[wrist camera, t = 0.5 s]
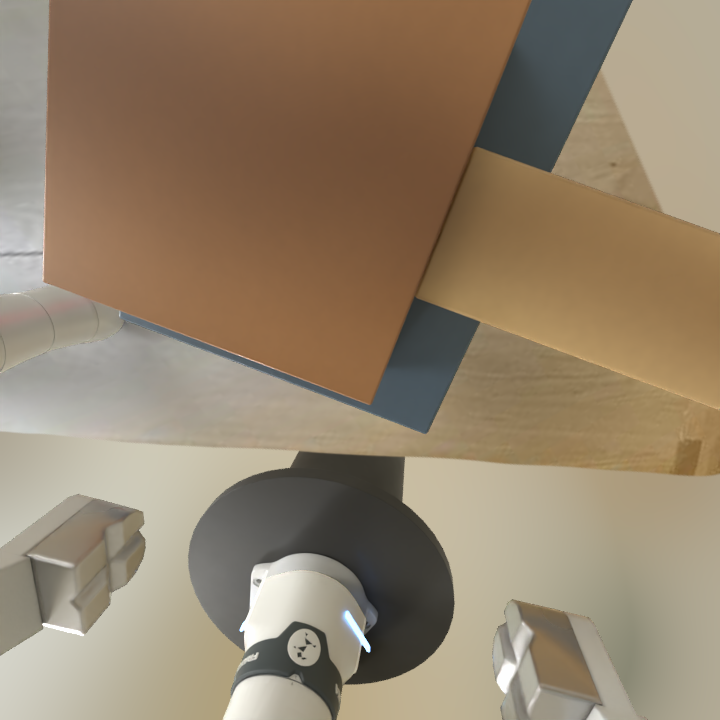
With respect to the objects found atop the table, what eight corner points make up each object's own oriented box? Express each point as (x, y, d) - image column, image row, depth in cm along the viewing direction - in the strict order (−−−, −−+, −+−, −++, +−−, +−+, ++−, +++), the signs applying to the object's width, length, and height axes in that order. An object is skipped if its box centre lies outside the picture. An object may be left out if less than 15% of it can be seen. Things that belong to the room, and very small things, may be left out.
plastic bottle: (127, 272, 39) (-140, 310, 20) (141, 335, 41) (-88, 421, 22) (73, 273, 40) (-231, 310, 21) (90, 334, 42) (-172, 417, 23)
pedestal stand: (420, 295, 35) (426, 435, 11) (321, 259, 36) (117, 318, 11) (469, 173, 32) (643, -22, 7) (358, 133, 32) (168, -186, 8)
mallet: (786, 520, 10) (894, 605, 8) (122, 271, 11) (40, 282, 9) (1072, 232, 8) (1365, 232, 5) (159, -88, 8) (51, -220, 6)
